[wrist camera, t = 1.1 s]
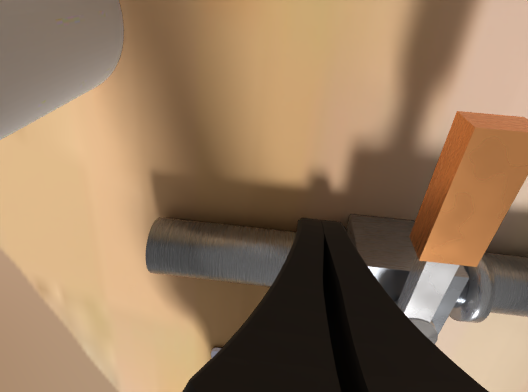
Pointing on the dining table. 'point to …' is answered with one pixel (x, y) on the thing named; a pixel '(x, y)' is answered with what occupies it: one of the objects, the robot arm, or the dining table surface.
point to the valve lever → (463, 207)
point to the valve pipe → (366, 242)
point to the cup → (53, 54)
